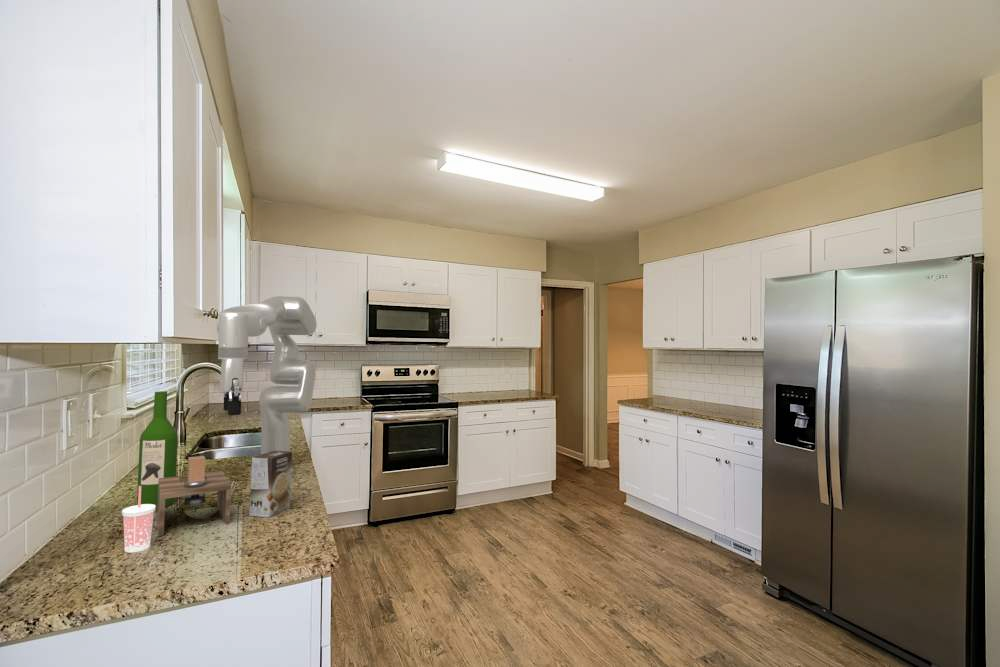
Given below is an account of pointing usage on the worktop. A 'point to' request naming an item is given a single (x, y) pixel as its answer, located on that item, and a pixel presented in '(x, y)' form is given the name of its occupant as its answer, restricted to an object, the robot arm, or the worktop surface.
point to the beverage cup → (138, 526)
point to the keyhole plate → (174, 488)
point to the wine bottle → (157, 453)
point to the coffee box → (270, 483)
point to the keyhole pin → (195, 479)
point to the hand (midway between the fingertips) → (232, 412)
